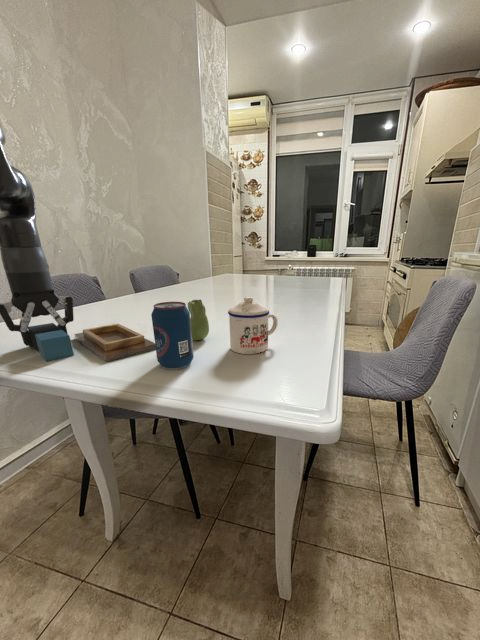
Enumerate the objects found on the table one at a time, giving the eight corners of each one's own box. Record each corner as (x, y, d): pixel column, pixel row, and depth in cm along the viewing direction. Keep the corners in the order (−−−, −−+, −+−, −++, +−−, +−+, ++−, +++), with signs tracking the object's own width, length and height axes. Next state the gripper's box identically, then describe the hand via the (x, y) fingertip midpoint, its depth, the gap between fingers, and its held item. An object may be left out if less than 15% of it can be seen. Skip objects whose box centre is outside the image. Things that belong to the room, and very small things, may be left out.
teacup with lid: (240, 358, 61) (238, 303, 57) (223, 345, 68) (220, 296, 64) (287, 348, 67) (288, 297, 62) (266, 337, 74) (267, 291, 70)
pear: (212, 340, 72) (210, 300, 68) (191, 344, 69) (187, 302, 66) (205, 335, 76) (202, 296, 73) (185, 338, 74) (181, 298, 70)
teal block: (46, 361, 59) (40, 340, 58) (40, 354, 63) (34, 334, 61) (74, 355, 62) (69, 335, 61) (66, 348, 66) (61, 329, 65)
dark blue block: (37, 351, 65) (32, 332, 63) (32, 345, 69) (27, 326, 67) (63, 346, 68) (59, 327, 66) (57, 340, 72) (52, 322, 70)
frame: (106, 362, 59) (103, 349, 58) (75, 338, 73) (72, 328, 72) (157, 348, 66) (155, 337, 65) (119, 329, 81) (118, 320, 80)
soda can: (151, 364, 58) (143, 304, 54) (182, 354, 63) (176, 299, 58) (169, 374, 53) (161, 310, 49) (200, 363, 58) (196, 304, 54)
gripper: (61, 266, 70) (77, 333, 75) (-19, 270, 60) (6, 347, 66) (70, 268, 65) (86, 340, 70) (-16, 273, 55) (10, 355, 61)
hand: (47, 343), depth 68 cm, fingers open, 5 cm apart
